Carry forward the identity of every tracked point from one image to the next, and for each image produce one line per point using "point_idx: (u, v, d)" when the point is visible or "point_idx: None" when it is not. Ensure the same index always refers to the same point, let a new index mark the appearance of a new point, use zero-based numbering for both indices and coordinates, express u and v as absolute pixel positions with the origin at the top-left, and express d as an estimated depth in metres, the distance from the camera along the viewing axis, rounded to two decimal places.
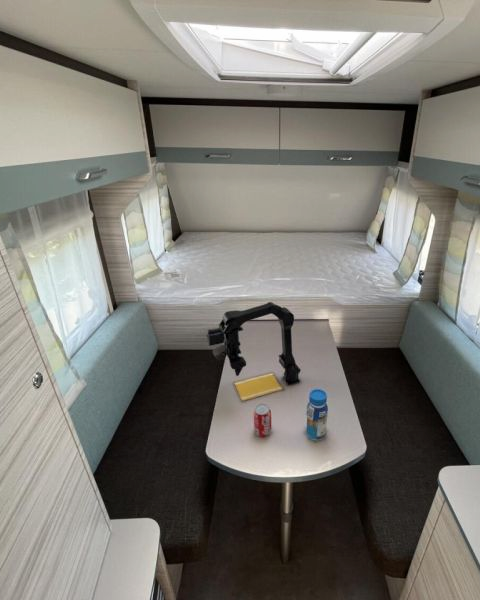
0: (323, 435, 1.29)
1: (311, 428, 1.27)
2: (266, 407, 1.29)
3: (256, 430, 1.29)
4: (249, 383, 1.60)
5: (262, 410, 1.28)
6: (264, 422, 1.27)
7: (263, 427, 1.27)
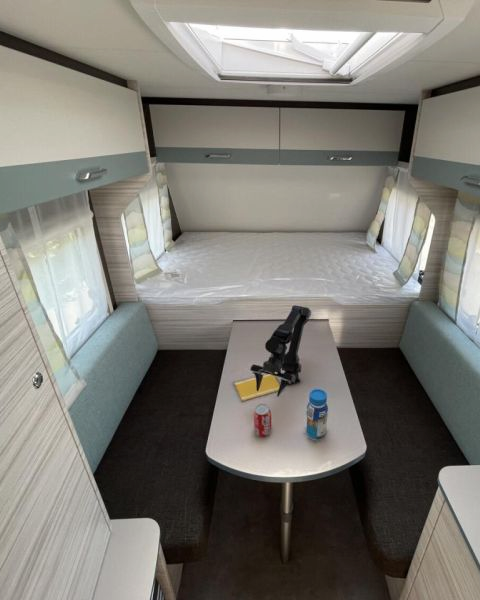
0: (323, 435, 1.29)
1: (311, 428, 1.27)
2: (266, 407, 1.29)
3: (256, 430, 1.29)
4: (249, 383, 1.60)
5: (262, 410, 1.28)
6: (264, 422, 1.27)
7: (263, 427, 1.27)
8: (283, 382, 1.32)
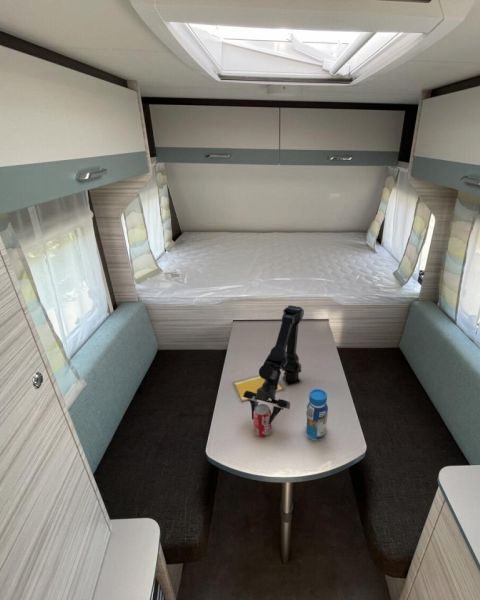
0: (323, 435, 1.29)
1: (311, 428, 1.27)
2: (266, 407, 1.29)
3: (256, 430, 1.29)
4: (249, 383, 1.60)
5: (262, 410, 1.28)
6: (264, 422, 1.27)
7: (263, 427, 1.27)
8: (275, 409, 1.27)
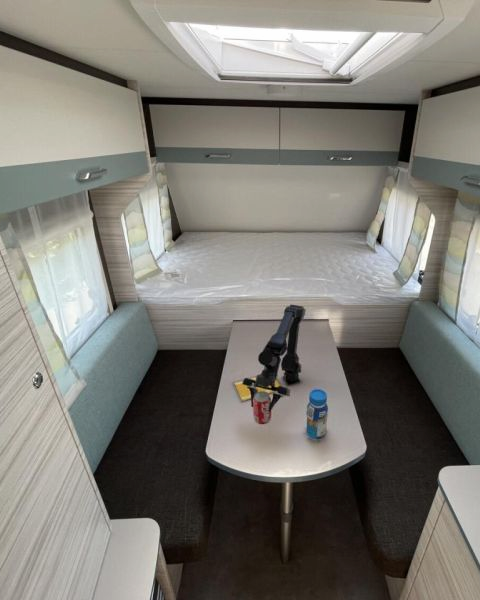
0: (323, 435, 1.29)
1: (311, 428, 1.27)
2: (266, 394, 1.27)
3: (256, 418, 1.27)
4: None
5: (262, 397, 1.25)
6: (264, 409, 1.24)
7: (263, 414, 1.25)
8: (275, 396, 1.25)
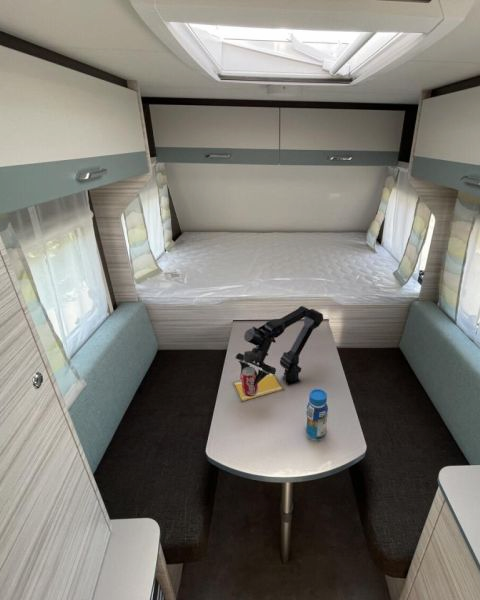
0: (323, 435, 1.29)
1: (311, 428, 1.27)
2: (253, 370, 1.39)
3: (243, 389, 1.40)
4: None
5: (248, 372, 1.38)
6: (249, 382, 1.36)
7: (248, 387, 1.38)
8: (260, 372, 1.36)
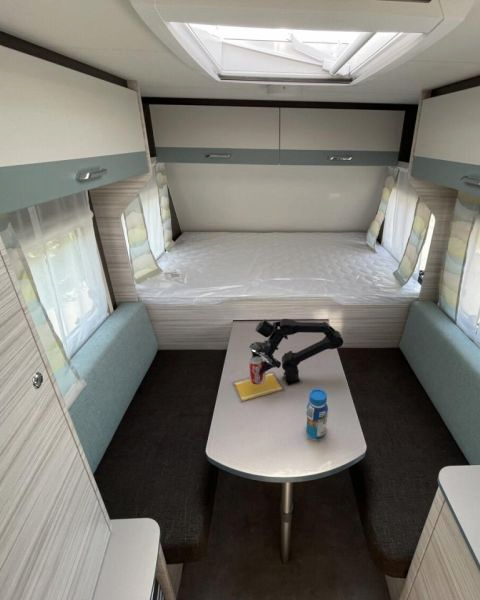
0: (323, 435, 1.29)
1: (311, 428, 1.27)
2: (260, 360, 1.49)
3: (250, 376, 1.52)
4: (249, 383, 1.60)
5: (256, 361, 1.49)
6: (254, 371, 1.48)
7: (253, 375, 1.49)
8: (265, 363, 1.46)
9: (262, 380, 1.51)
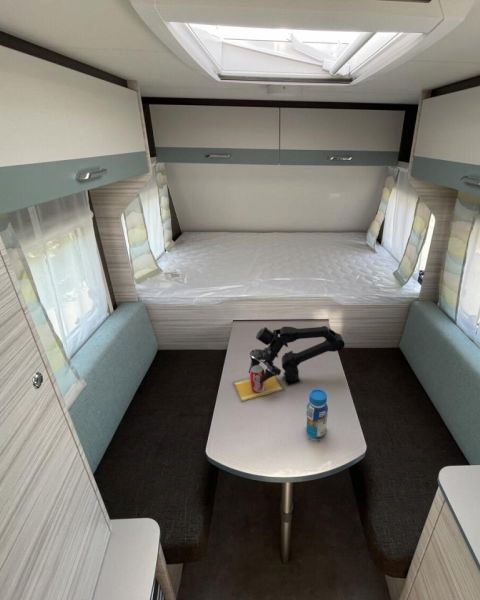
0: (323, 435, 1.29)
1: (311, 428, 1.27)
2: (261, 368, 1.52)
3: None
4: (249, 383, 1.60)
5: (256, 369, 1.51)
6: (255, 379, 1.50)
7: (254, 383, 1.51)
8: (266, 372, 1.47)
9: (262, 388, 1.53)
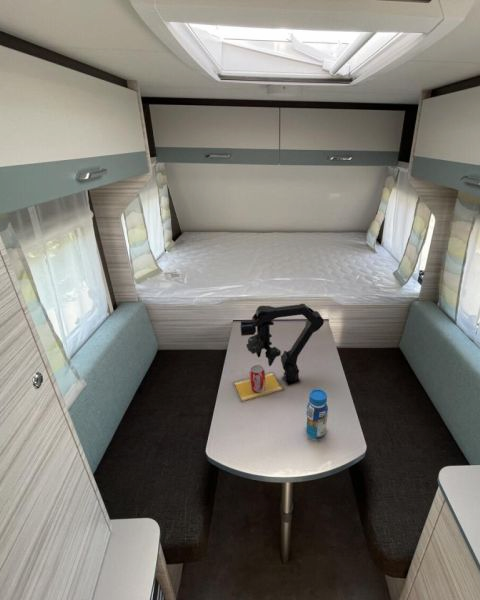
0: (323, 435, 1.29)
1: (311, 428, 1.27)
2: (261, 368, 1.52)
3: None
4: (249, 383, 1.60)
5: (256, 369, 1.51)
6: (255, 379, 1.50)
7: (254, 383, 1.51)
8: (268, 358, 1.48)
9: (262, 388, 1.53)
